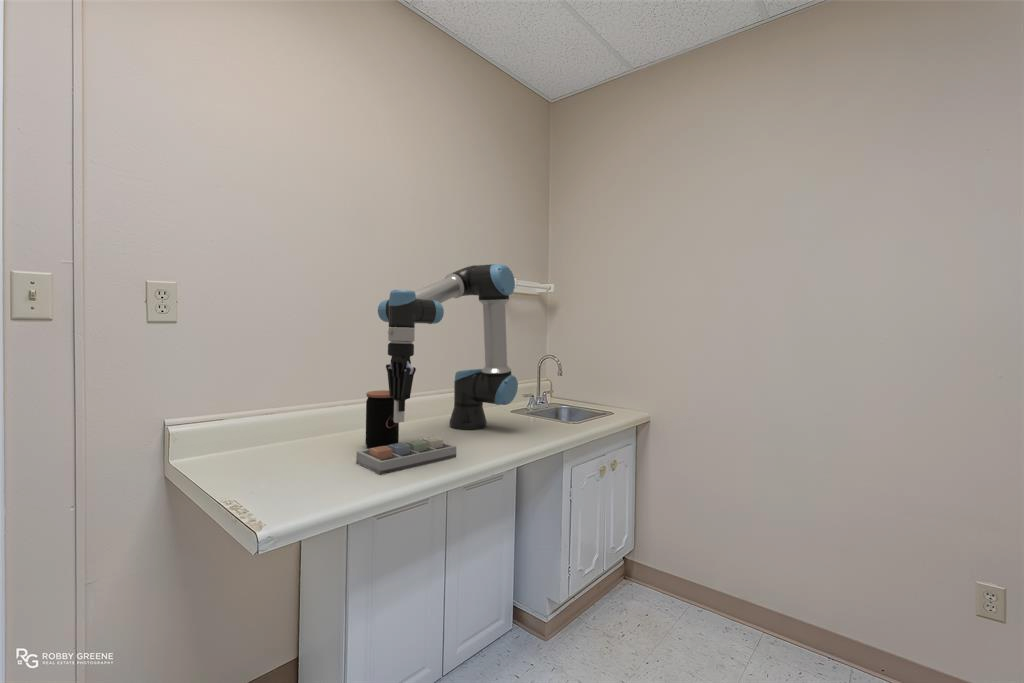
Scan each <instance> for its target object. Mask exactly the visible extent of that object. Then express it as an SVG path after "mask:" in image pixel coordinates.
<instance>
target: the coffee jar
mask: <svg viewBox="0 0 1024 683" xmlns="http://www.w3.org/2000/svg"><path fill="white" fill-rule="evenodd" d="M366 397H367V399H366V402H365V403H366V404H365V445H366V447H367V449H370V448H375V447H380V446H388V445H391V444H396V443H399V431H400V426H399V425H400V422H399V423H395V422H394V400H393V397H390V394H389V389H388V390H386V389H385V390H383V389H382V390H372V391H371V390H370V391H367V392H366Z"/></svg>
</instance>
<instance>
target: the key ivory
mask: <svg viewBox="0 0 1024 683" xmlns="http://www.w3.org/2000/svg"><path fill="white" fill-rule="evenodd" d="M422 439H423V440H422V441H425V442H427V446H429V447H432V448H434V449H435V448H439V447H443V442H444V438H440V437H437V436H429V437H425V438H422Z"/></svg>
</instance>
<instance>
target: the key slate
mask: <svg viewBox="0 0 1024 683" xmlns="http://www.w3.org/2000/svg"><path fill="white" fill-rule="evenodd" d="M388 448H391V449H392V453H395V454H397V455H399V456H401V455H405V454H410V445H407V444H405V442H398V443H396V444H391V445H388Z"/></svg>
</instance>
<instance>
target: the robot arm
mask: <svg viewBox="0 0 1024 683" xmlns="http://www.w3.org/2000/svg"><path fill="white" fill-rule="evenodd" d="M515 287H516V281H515V275H514V273H513V271H512V270H511V268H510V267H509V266H507V265H506V264H503V263H502V264H500V263H499V264H498V263H494V264H493V263H492V264H478V265H475V264H474V265H469V266H466V267H462V268H461V269H458V270H456V271H454V272H451V273H449V274H447V275H446V276H445V277H444V278H443V279H441V280H439V281H436V282H434V283H431V284H429V285H426V286H424V287H422V288H420V289H417V290H415V291H414V290H408V289H393V290H391V291H390V293H389V299H388V298H387V299H384V300H382V301H381V302H379V304H378V306H377V314H378V317H379V319H380V320H381V321H382V322H384V323H388V331H387V334H388V337H387V338H388V341H389V343H387V355H388V356H389V357H391V358H390V363H389V364H388V363H387V364H385V369H386V372H387V382H388V391H389V394H390V397H393V400H394V422H395V423H399V424H400V423H405V414H406V413H405V410H406V401H407V400H410V399H411V393H412V387H413V381H414V376H415V373H416V370H417V369H416V367H415V366H414V367H413V366H412V365H411V363H412V362H411V357H413V356H414V354H415V344H414V343H413V342H415V330H416V329H415V328H416V326H415V325H416V324H428V325H432V324H433V325H434V324H439V323H440V322H441V321H442V319H443V317H444V313H445V312H444V306H443V305H442V303H445V302H447V301H448V300H450V299H452V298H453V299H458V298H461V297H463V296H478V301H479V303H481V305H482V311H483V312H482V314H483V339H484V340H483V342H484V364H485V366H484V367H483V368H475V369H474V368H473V369H463V370H458V371H456V372H455V375H454V380H453V381H454V382H453V383H454V386H453V391H454V397H453V399H454V400H453V401H454V403H453V409H452V412H451V416H450V418H449V422H448V423H449V424H448V425H449V427H450V428H452V429H456V430H466V431H468V430H480V429H484V428H486V427H487V425H488V424H487V419H486V414H485V410H484V406H483V405H484V404H485V403H487V404H492V405H497V406H500V405H501V406H502V405H503V406H506V405H510V404H511V403H512V402H513V401H514V399H515V398H516V396H517V392H518V389H519V388H518V387H519V383H518V379H517V377H516V376H514V375H513V374H512V369H511V368H510V367H509V366H508V349H507V348H508V347H507V346H508V345H507V342H508V341H507V318H506V317H507V316H506V315H507V314H506V304H507V303H508V301H509V300H510V296H511V295H512V294H513V293H514V291H515ZM483 403H484V404H483Z"/></svg>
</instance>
